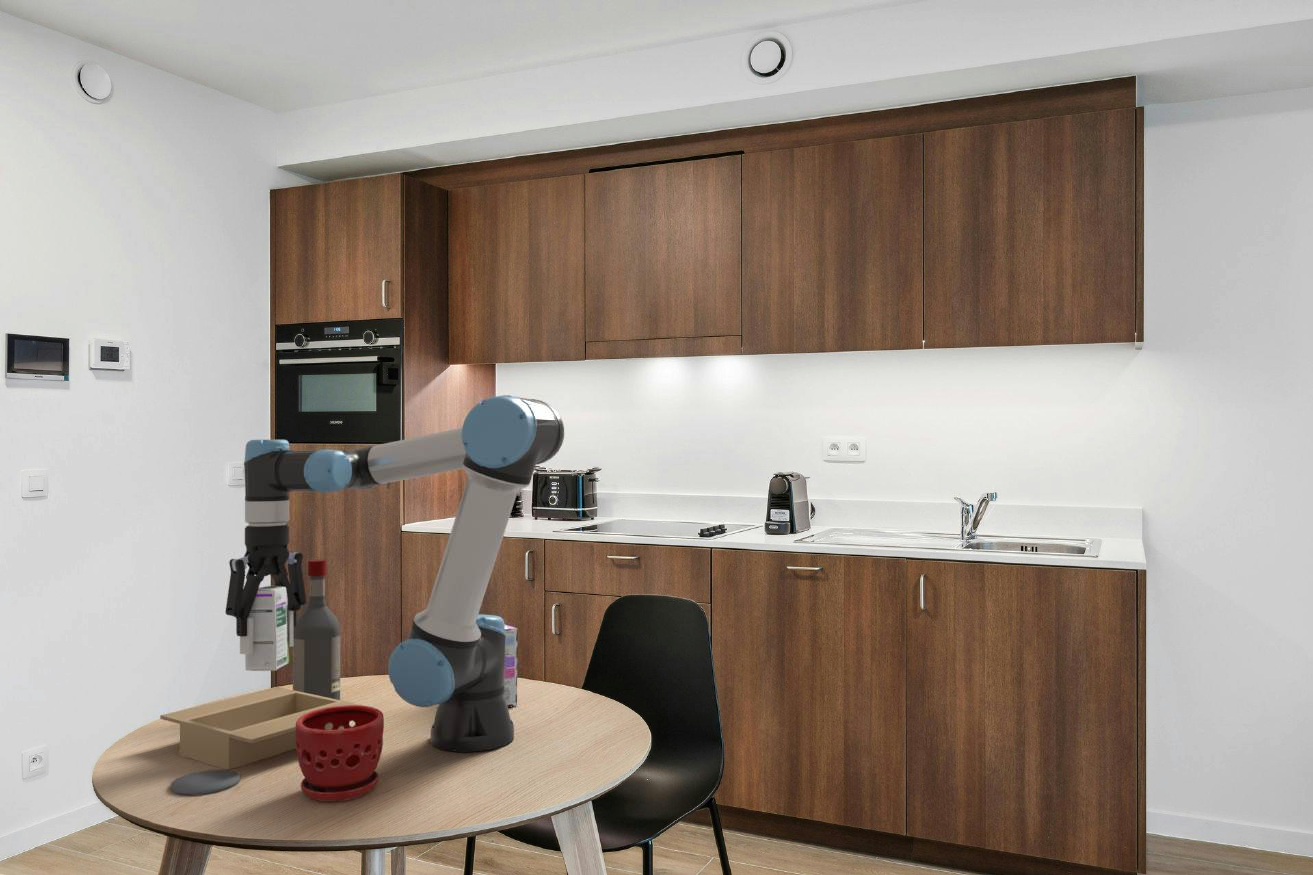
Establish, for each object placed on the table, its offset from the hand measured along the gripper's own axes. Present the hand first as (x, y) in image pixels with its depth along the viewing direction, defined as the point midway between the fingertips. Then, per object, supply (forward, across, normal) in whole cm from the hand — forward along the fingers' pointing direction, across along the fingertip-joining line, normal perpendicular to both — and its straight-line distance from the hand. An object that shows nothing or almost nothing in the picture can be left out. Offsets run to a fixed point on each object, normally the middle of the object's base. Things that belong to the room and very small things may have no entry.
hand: (267, 649), depth 172 cm
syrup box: (+3, 0, 0) cm, 3 cm away
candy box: (+18, -44, +15) cm, 49 cm away
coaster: (+17, +18, +10) cm, 27 cm away
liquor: (+17, -23, -15) cm, 33 cm away
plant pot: (+18, +9, +31) cm, 36 cm away
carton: (+17, 0, 0) cm, 17 cm away
